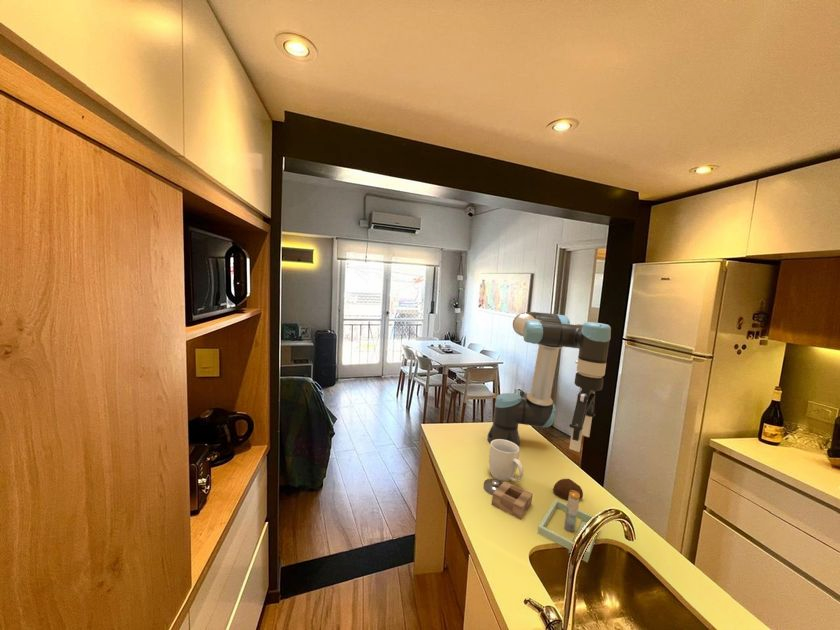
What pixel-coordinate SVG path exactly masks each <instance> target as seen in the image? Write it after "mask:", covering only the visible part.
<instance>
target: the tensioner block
mask: <svg viewBox="0 0 840 630" xmlns="http://www.w3.org/2000/svg"><path fill="white" fill-rule="evenodd" d="M502 482H503V483H502V484H501V485H500V486H499V488H498V489H497V490H496V491H495V492H494V493H493V495H491V496H492V497H491V506H493V507H495V508H497V509H500V510H501V511H503V512H504V513H507V514H508V515H510V516H512V517H514V518H516V519H518V520H521V519H522V518H523V517H524V516H525V514H526V513H527V512H528V510H529V508H530V507H531V506H532V503H533V502H532V501H533V492H530V491H528V490H526V489H524V488H522V487H519V486H517V485H515V484H513V483H510V482H509V481H502Z"/></svg>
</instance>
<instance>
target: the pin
mask: <svg viewBox="0 0 840 630" xmlns="http://www.w3.org/2000/svg"><path fill="white" fill-rule="evenodd" d="M579 498H580V493H579V492H577V491H575V490H570V491H569V497H568V500H567V503H566V504H567V511H566V512H565V519H564V526H563V528H564V530H565V531H566V532H568V533H575V530H576V526H577V525H576V524H577V518H578V517H577V512H578V509H579V504H580V500H579Z"/></svg>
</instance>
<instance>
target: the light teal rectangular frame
mask: <svg viewBox="0 0 840 630" xmlns="http://www.w3.org/2000/svg"><path fill="white" fill-rule="evenodd" d="M567 504H568V503H566V502H563V501H561V500H558V499H556V498H554V500H553V502H552V503H551V505H550V507H549V508H548V510H547V511H546V513H545V514H544V516H543V518H542V520H541V521H540V523H539V524H538V527H537V534H539V535H540V536H542V537H545V538H546V539H547V540H550V541H552V542H554V543H556V544H558V545H559V546H561V547H564V548H566V549H567V553H568V554H570V553H571V549H572V546H573V544H574V541H575V539H576V537H577V536H578V534H579V533H580V531H581V530H582V528H583V527H584V525H586V523H587V522H588V521H589V520H590V519H591V518H592V517H593V516H594V515H593V514H592V515H591V513H590V514H589V513H588V512H585V511H583V510H581V509H579V508H578V512H577V518H578V519H580V520H581V521H580V523H579V525H578V527H577V530H576V533H575V534H574V537H573V539H572V540H571V539H568V538H567V537H565V536H563V535H561V534H559V533H557V532H555V531H553V530H551V529H549V528H547V525H548V523H549V522H550V520H551V518H552V516H553V515H554V513H555V511H556V509H558V510H561V511H563V512H565V513H566V511H567ZM597 536H598V534H597V535H596V536H595V537H594V539H593V540H592V541H591V543H590V545H589V546H588V548H587V550H586V552H585V554H584V557H583V559H581V560H582V561H583V562H585V563H588V562H589V560H590V557H591V554H592V551H593V548H594V545H595V542H596V540H597Z"/></svg>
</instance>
